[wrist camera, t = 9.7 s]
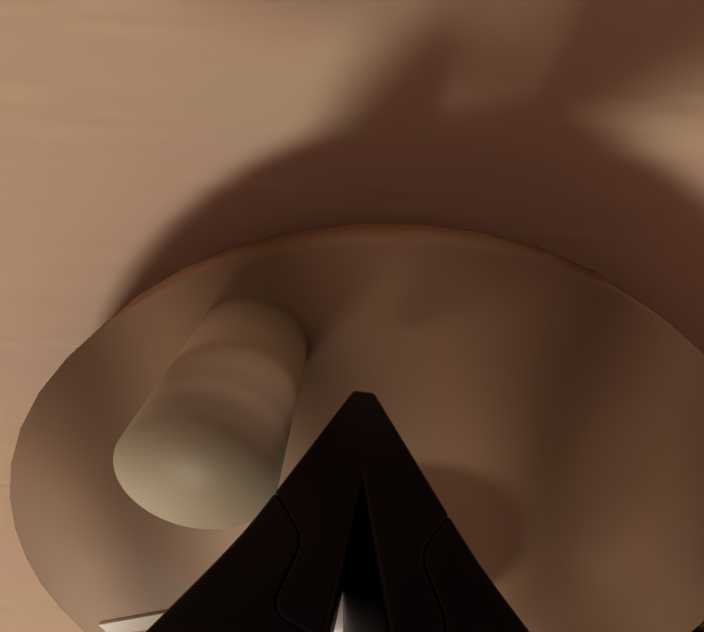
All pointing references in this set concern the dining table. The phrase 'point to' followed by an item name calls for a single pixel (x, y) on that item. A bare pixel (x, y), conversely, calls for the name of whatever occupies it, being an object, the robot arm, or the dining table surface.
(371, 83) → the dining table surface
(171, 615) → the robot arm
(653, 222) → the dining table surface
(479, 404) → the turntable
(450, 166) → the dining table surface
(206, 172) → the dining table surface
